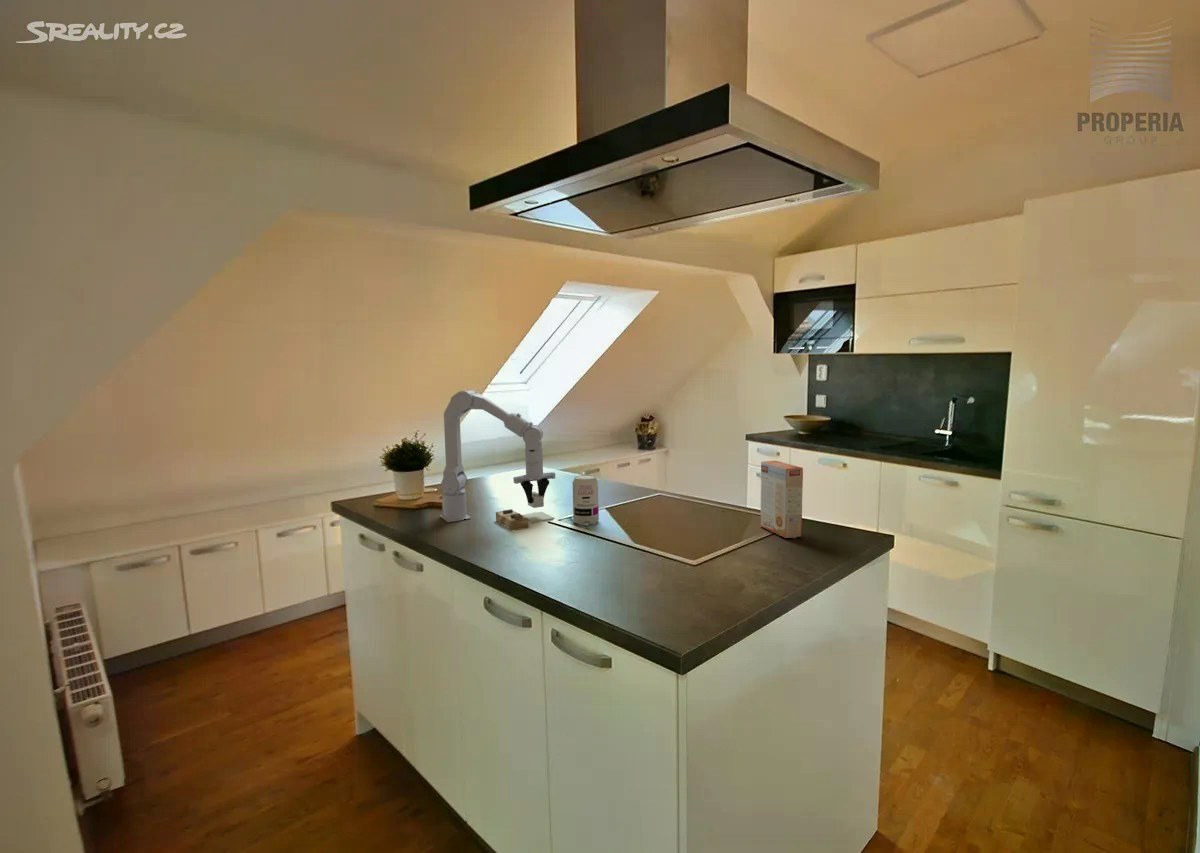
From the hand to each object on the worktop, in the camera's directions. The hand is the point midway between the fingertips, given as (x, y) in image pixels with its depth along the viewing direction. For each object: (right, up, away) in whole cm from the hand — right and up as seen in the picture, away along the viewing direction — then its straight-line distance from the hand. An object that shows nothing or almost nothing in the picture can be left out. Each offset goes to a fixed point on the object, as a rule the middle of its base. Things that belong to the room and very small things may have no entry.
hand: (535, 501), depth 194 cm
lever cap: (0, -1, 0) cm, 1 cm away
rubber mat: (+1, -6, +1) cm, 6 cm away
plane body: (-7, -7, -6) cm, 11 cm away
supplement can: (+17, -6, -5) cm, 19 cm away
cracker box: (+76, -7, -21) cm, 79 cm away
